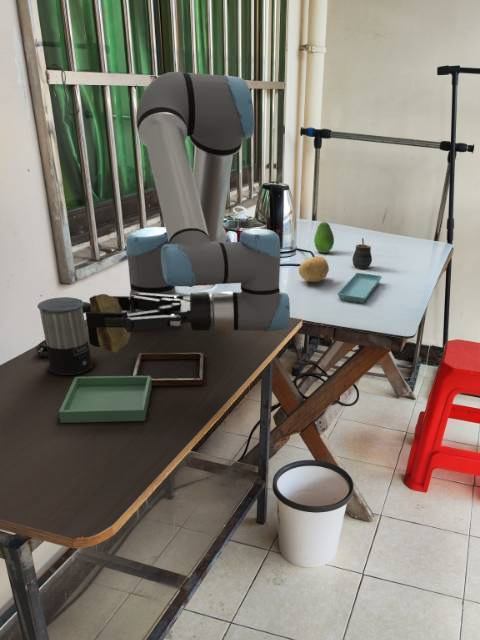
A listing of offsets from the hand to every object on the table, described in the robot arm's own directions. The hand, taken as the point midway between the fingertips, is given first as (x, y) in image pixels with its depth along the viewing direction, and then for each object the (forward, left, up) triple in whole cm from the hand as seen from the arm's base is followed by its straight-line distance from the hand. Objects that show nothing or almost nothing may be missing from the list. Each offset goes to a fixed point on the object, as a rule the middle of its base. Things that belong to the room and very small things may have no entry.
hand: (91, 311), depth 112 cm
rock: (0, +5, -6) cm, 8 cm away
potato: (-84, +57, -18) cm, 103 cm away
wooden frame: (-11, +13, -18) cm, 25 cm away
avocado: (-124, +67, -18) cm, 142 cm away
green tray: (+4, +2, -18) cm, 19 cm away
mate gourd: (-103, +78, -18) cm, 131 cm away
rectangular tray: (-73, +71, -18) cm, 104 cm away
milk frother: (-17, -11, -18) cm, 28 cm away
